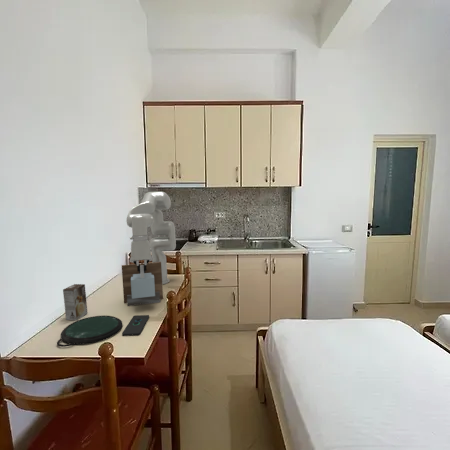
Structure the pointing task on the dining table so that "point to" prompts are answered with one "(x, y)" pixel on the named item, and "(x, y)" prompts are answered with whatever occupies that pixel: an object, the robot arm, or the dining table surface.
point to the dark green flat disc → (90, 330)
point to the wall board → (132, 269)
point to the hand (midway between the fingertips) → (142, 272)
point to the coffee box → (75, 301)
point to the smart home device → (135, 325)
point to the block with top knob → (142, 284)
